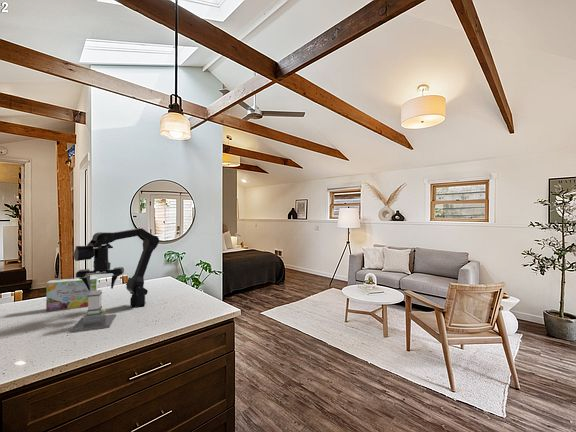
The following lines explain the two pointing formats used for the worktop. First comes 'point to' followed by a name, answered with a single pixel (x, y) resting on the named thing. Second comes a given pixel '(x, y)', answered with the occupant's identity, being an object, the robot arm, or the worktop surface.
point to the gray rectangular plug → (94, 302)
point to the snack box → (68, 293)
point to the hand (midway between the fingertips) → (101, 289)
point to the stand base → (94, 322)
